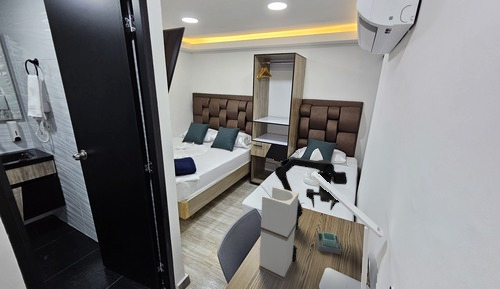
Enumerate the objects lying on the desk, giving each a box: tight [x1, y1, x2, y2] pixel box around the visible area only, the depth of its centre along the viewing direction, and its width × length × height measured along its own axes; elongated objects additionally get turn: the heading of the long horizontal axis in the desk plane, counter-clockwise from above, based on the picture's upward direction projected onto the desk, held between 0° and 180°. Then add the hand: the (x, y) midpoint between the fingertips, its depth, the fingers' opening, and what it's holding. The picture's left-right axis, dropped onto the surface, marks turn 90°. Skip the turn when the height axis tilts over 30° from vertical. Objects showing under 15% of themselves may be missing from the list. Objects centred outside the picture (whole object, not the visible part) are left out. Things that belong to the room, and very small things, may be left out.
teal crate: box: [321, 231, 336, 248], centre depth 103 cm, size 6×6×5 cm
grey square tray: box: [316, 232, 343, 255], centre depth 103 cm, size 10×10×3 cm
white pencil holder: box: [258, 186, 300, 281], centre depth 86 cm, size 11×11×35 cm
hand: (322, 208), depth 114 cm, fingers open, 9 cm apart
